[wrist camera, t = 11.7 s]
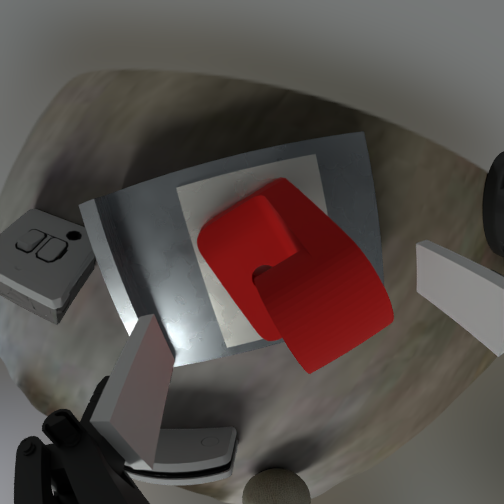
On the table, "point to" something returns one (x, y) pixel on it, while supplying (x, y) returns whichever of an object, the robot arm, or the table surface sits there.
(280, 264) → the bracket
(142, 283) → the grey ridged box
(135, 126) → the table surface
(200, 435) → the grey curved slab
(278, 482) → the fruit
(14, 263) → the electrical switch
